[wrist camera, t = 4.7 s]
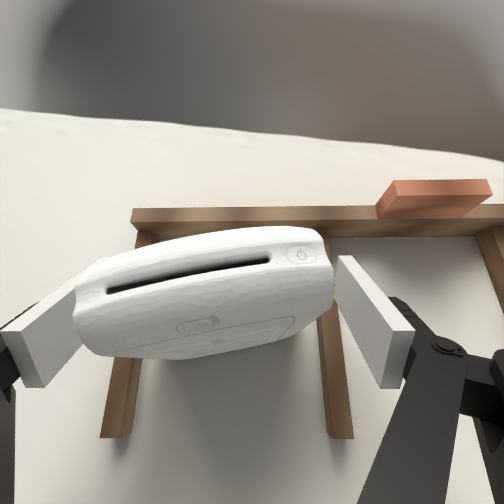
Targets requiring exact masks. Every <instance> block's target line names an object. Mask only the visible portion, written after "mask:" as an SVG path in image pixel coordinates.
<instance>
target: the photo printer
mask: <svg viewBox="0 0 504 504" xmlns="http://www.w3.org/2000/svg"><path fill="white" fill-rule="evenodd" d="M75 291H76V304H75V309H74V312H73V314H72V319H73V323H74V326H75V328H76V331H77V333H78V335H79V337H80V339H81V340H82V342H83V343H84V344H85V346H86V347H87V348H88V349H89V350H91V351H92V352H93V353H95V354H97V355H100V356H108V357H129V358H150V359H168V360H184V359H193V358H198V357H203V356H209V355H215V354H220V353H225V352H230V351H235V350H240V349H245V348H249V347H254V346H258V345H262V344H267V343H271V342H275V341H279V340H282V339H285V338H288V337H290V336H292V335H295V334H296V333H298V332H299V331H300V330H302V329H303V328H304V327H306V326H307V325H309V324H310V323H311V322H313V321H314V320H316V319H317V318H318V317H320V316H321V315H322V314H324V313H325V312H327V311H328V310H329V309H330V308H331V306H332V303H333V299H334V271H333V267H332V265H331V263H330V261H329V259H328V257H327V255H326V252H325V247H324V241H323V239H322V237H321V236H320V235H319V234H318V233H317V232H316V231H315V230H313V229H309V228H302V227H292V226H264V227H251V228H240V229H232V230H224V231H217V232H211V233H204V234H199V235H193V236H188V237H183V238H178V239H173V240H169V241H164V242H160V243H156V244H153V245H149V246H145V247H141V248H138V249H135V250H131V251H128V252H125V253H122V254H119V255H117V256H114V257H112V258H109V259H107V260H105V261H103V262H101V263H99V264H97V265H95V266H93V267H91V268H90V269H88V270H86V271H85V272H84V273H83V274H82V275H81V276H80V277H79V279H78V280H77V282H76V284H75Z"/></svg>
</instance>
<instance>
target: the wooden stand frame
mask: <svg viewBox="0 0 504 504" xmlns="http://www.w3.org/2000/svg"><path fill="white" fill-rule="evenodd" d="M492 195H493V194H492V191H491V189H490V187H489V184H488V182H487V179H460V180H394V181H393V182H392V183H391V185H390V186H389V187H388V189H387V190H386V191H385V193H384V194H383V195H382V197H381V198H380V199H379V201H378V202H377V204H376V205H371V206H289V207H207V208H133V211H132V216H131V221H130V222H131V223H132V224H133V226H134V227H135V228H136V229H137V230H138V233H137V239H136V244H135V249H138V248H141V247H145V246H149V245H153V244H156V243H159V239H178V238H183V237H188V236H193V235H199V234H204V233H211V232H217V231H224V230H232V229H240V228H251V227H264V226H292V227H302V228H309V229H313V230H315V231H316V232H317V233H318V234H319V235H320V236H321V237H322V239H323V241H324V247H325V252H326V255H327V257H328V259H329V261H330V263H331V265H332V260H331V252H330V244H329V237H402V236H476V239H477V242H478V244H479V247H480V250H481V252H482V255H483V258H484V261H485V263H486V266H487V269H488V272H489V274H490V277H491V280H492V283H493V285H494V288H495V291H496V294H497V296H498V299H499V302H500V304H501V307H502V310H503V313H504V204H480V203H482V202H483V201H485V200H486V199H487V198H489V197H490V196H492ZM135 249H134V250H135ZM334 287H335V284H334ZM317 330H318V341H319V351H320V362H321V372H322V383H323V394H324V404H325V415H326V426H327V433H328V434H329V435H330V436H331V437H332V438H333V439H354V434H353V426H352V418H351V410H350V402H349V395H348V387H347V379H346V371H345V363H344V355H343V347H342V339H341V331H340V323H339V315H338V308H337V303H336V301H335V299H333V303H332V306H331V308H330V309H329V310H328V311H327V312H325V313H324V314H322V315H321V316H320V317H318V318H317ZM141 361H142V358H129V357H114V363H113V368H112V374H111V379H110V384H109V390H108V395H107V401H106V406H105V412H104V417H103V422H102V428H101V433H100V438H121V437H122V436H124V435H126V434H128V433H130V432H131V429H132V422H133V416H134V409H135V402H136V395H137V389H138V382H139V375H140V368H141Z"/></svg>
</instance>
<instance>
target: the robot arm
mask: <svg viewBox="0 0 504 504" xmlns="http://www.w3.org/2000/svg"><path fill="white" fill-rule="evenodd" d="M109 258H112V257H101V258H99V259H98V260H96V261H95V262H94V263H92V264H91V265H90V266H88V267H87V268H85V269H84V270H83V271H81V272H80V273H79V274H77V275H76V276H75V277H73V278H72V279H70V280H69V281H68V282H66V283H65V284H64V285H62V286H61V287H59V288H58V289H57V290H55V291H54V292H53V293H51V294H50V295H48V296H47V297H46V298H44V299H43V300H42V301H40V302H38V303H36V304H34V305H32V306H30V307H29V308H28V309H26V310H25V311H23V313H21V314H19V315H18V316H16V317H15V319H12V320H11V321H9V322H8V323H7V324H5V325H4V326H3V327H1V328H0V504H14V477H15V398H16V391H15V389H14V387H13V385H12V384H13V383H14V382H15V381H16V380H17V379H18V378H19V377H21V379H22V381H23V383H24V385H25V387H26V388H45V387H46V386H47V385H48V383H49V382H50V381H51V380H52V379H53V378H54V377H55V375H56V374H57V373H58V372H59V371H60V370H61V368H62V367H63V366H64V365H65V364H66V363H67V362H68V360H69V359H70V358H71V357H72V356H73V355H74V353H75V352H76V351H77V350H78V349H79V348H80V347H81V345H82V344H83V342H82V340H81V339H80V337H79V335H78V333H77V331H76V328H75V326H74V323H73V319H72V314H73V312H74V309H75V304H76V291H75V284H76V282H77V280H78V279H79V277H80V276H81V275H82V274H83V273H84V272H85V271H86V270H88V269H90V268H91V267H93V266H95V265H97V264H99V263H101V262H103V261H105V260H107V259H109ZM334 299H335V301H336V303H337V305H338V307H339V309H340V311H341V313H342V315H343V317H344V319H345V321H346V323H347V325H348V327H349V329H350V331H351V333H352V335H353V337H354V339H355V341H356V343H357V345H358V347H359V349H360V351H361V352H362V354H363V356H364V358H365V360H366V362H367V364H368V366H369V368H370V370H371V372H372V374H373V376H374V378H375V380H376V382H377V384H378V386H379V388H380V389H400V386H401V383H402V379H403V377H404V379H405V381H406V382H405V385H404V387H403V390H402V392H401V395H400V397H399V400H398V402H397V405H396V407H395V410H394V412H393V415H392V417H391V420H390V422H389V425H388V427H387V430H386V432H385V435H384V437H383V440H382V442H381V445H380V447H379V450H378V452H377V455H376V457H375V460H374V462H373V465H372V467H371V470H370V472H369V475H368V477H367V480H366V482H365V485H364V487H363V490H362V492H361V494H360V497H359V499H358V502H357V504H445V500H446V493H447V487H448V481H449V474H450V468H451V462H452V455H453V449H454V443H455V437H456V430H457V424H458V418H459V413H460V414H463V415H467V416H471V417H472V418H473V422H474V425H475V429H476V433H477V437H478V441H479V444H480V448H481V452H482V456H483V460H484V464H485V467H486V471H487V475H488V479H489V483H490V486H491V490H492V494H493V498H494V502H495V504H504V349H500V350H497V351H496V352H495V353H494V355H493V357H492V359H488V358H483V357H479V356H474V355H469V354H467V352H466V351H465V350H464V348H463V347H462V346H460V345H459V344H457V343H456V342H454V341H452V340H450V339H447V338H444V337H440V336H436V335H435V334H434V333H433V332H432V331H431V329H430V328H429V327H428V326H427V325H426V324H425V323H424V322H423V321H422V320H421V319H420V318H419V317H418V316H417V315H416V313H415V312H413V311H412V309H411V308H410V307H409V306H408V305H407V304H406V303H405V302H403V301H401V300H400V299H398V298H396V297H387V296H386V295H385V294H384V293H383V292H382V291H381V289H380V288H379V287H378V286H377V285H376V284H375V282H374V281H373V280H372V279H371V278H370V277H369V275H368V274H367V273H366V272H365V271H364V270H363V268H362V267H361V266H360V265H359V264H358V263H357V261H356V260H355V259H354V258H353V257H352V256H338V262H337V270H336V279H335V287H334Z"/></svg>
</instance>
